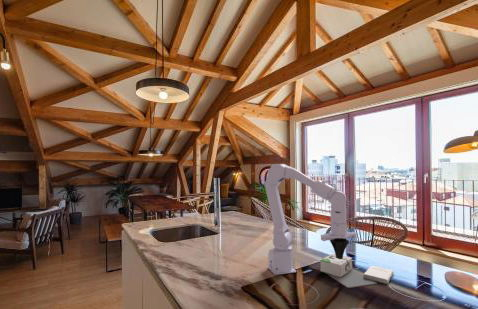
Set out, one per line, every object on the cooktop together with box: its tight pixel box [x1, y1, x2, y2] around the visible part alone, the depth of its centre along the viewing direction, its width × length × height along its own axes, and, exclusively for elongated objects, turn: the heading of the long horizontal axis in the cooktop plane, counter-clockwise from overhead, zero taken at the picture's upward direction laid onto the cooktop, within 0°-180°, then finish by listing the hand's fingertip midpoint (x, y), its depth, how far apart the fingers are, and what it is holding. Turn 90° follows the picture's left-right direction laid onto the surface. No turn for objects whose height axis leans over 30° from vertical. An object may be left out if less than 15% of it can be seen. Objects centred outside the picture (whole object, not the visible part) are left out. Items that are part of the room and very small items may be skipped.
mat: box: [325, 268, 378, 289], centre depth 101 cm, size 12×14×1 cm
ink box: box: [319, 253, 353, 277], centre depth 107 cm, size 9×5×12 cm
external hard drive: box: [362, 265, 394, 284], centre depth 102 cm, size 2×8×12 cm
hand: (339, 258), depth 100 cm, fingers closed
